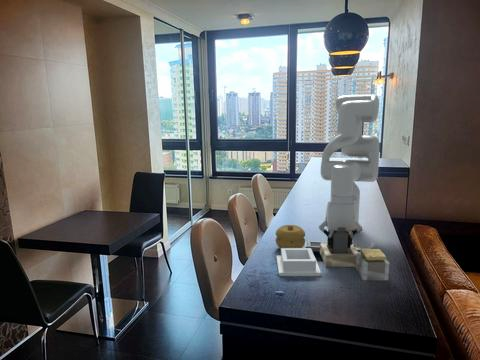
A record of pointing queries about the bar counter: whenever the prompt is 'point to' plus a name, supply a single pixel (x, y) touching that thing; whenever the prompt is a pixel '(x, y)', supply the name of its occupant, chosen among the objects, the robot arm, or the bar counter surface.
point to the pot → (290, 237)
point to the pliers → (367, 246)
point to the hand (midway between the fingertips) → (339, 246)
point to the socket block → (355, 263)
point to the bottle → (340, 241)
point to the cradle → (297, 262)
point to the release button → (373, 255)
